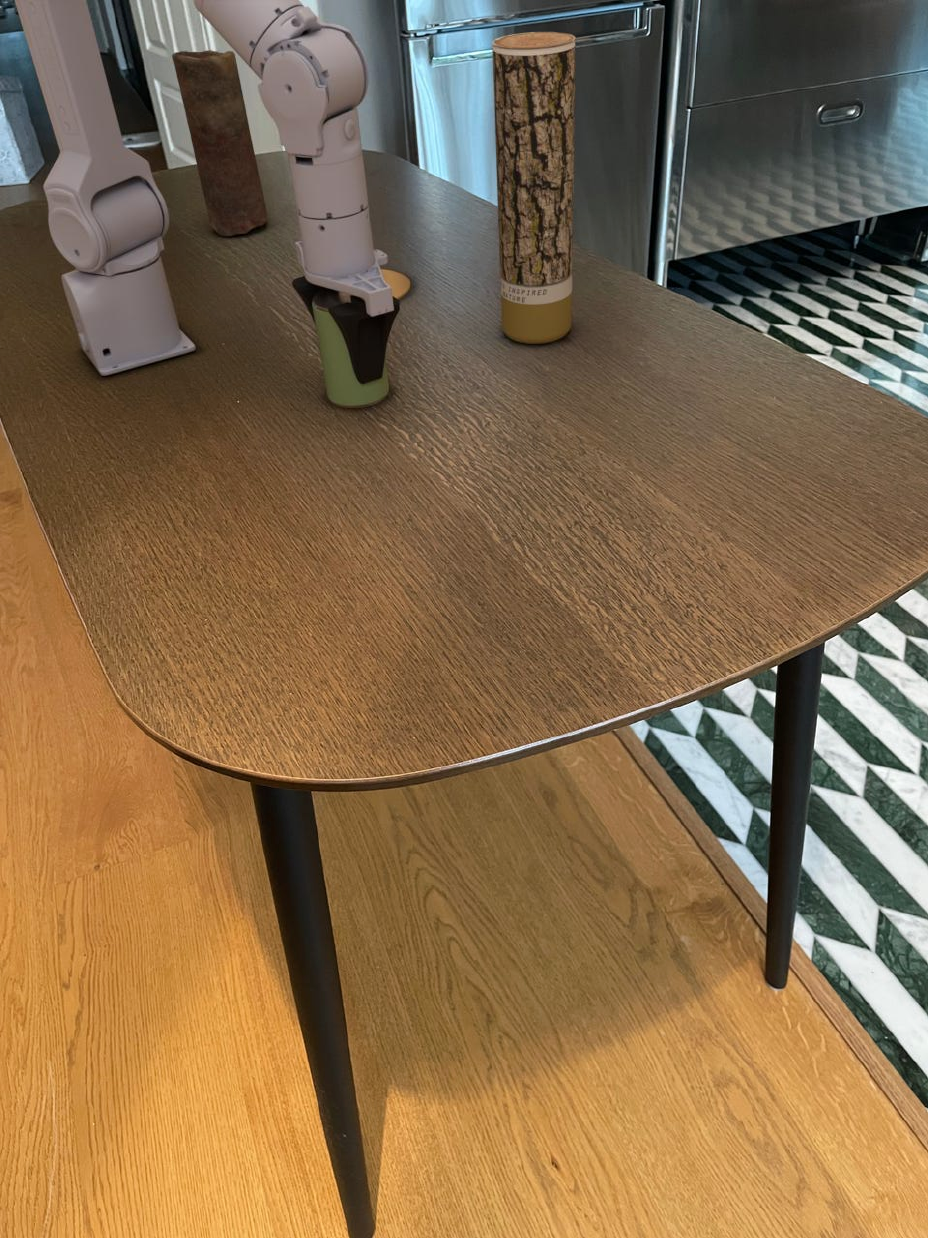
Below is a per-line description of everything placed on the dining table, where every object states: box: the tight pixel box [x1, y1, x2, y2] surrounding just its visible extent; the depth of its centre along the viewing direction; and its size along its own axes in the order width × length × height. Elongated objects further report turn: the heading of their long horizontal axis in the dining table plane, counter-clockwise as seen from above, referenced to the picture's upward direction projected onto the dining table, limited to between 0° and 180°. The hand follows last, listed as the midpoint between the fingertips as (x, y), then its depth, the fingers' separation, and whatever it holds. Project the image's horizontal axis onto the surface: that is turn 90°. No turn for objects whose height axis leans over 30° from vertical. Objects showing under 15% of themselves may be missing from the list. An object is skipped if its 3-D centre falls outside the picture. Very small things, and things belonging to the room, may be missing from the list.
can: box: [312, 288, 390, 409], centre depth 84 cm, size 6×6×9 cm
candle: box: [171, 49, 268, 237], centre depth 118 cm, size 8×7×20 cm
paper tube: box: [491, 31, 577, 345], centre depth 87 cm, size 7×7×25 cm
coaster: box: [380, 268, 411, 301], centre depth 106 cm, size 11×11×1 cm
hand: (354, 367), depth 85 cm, fingers closed on can, 5 cm apart
